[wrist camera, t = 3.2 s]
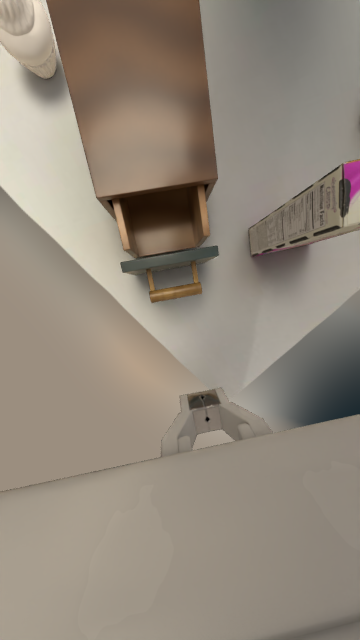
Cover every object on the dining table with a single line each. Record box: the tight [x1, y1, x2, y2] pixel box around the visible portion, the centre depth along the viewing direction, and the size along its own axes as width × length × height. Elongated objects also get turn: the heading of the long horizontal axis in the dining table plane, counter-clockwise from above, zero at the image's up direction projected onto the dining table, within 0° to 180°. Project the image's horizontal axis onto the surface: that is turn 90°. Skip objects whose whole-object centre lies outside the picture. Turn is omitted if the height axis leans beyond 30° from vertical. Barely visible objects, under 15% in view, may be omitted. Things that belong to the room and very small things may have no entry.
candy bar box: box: [249, 159, 360, 257], centre depth 21 cm, size 11×5×16 cm, turn 103°
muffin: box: [0, 0, 56, 79], centre depth 19 cm, size 6×6×7 cm
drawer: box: [112, 184, 219, 303], centre depth 23 cm, size 18×12×8 cm, turn 10°
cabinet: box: [46, 0, 218, 222], centre depth 21 cm, size 15×13×10 cm
